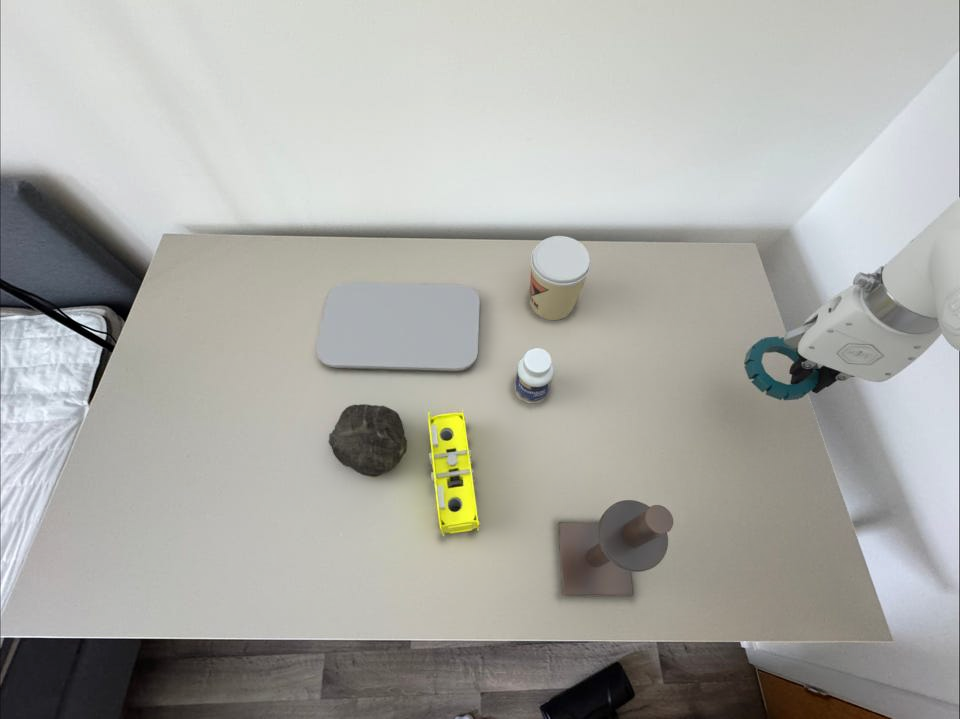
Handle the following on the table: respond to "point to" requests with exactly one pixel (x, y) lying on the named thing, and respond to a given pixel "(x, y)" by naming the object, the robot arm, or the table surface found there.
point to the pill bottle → (534, 376)
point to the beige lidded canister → (557, 276)
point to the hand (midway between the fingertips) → (804, 379)
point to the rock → (369, 439)
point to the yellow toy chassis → (452, 473)
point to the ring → (765, 380)
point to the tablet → (400, 326)
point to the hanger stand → (612, 548)
